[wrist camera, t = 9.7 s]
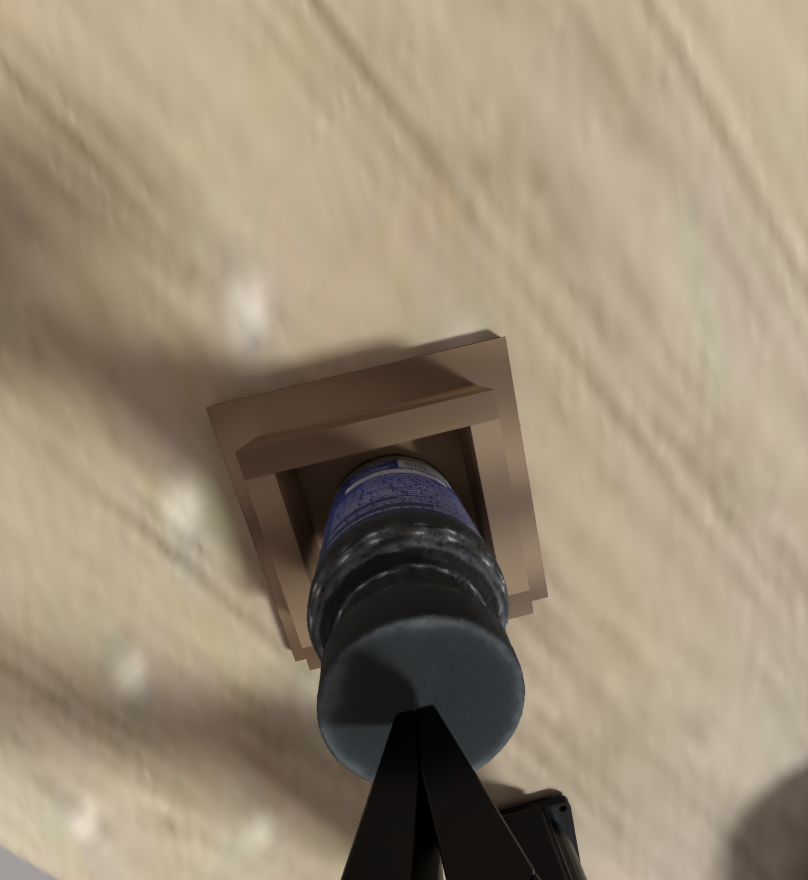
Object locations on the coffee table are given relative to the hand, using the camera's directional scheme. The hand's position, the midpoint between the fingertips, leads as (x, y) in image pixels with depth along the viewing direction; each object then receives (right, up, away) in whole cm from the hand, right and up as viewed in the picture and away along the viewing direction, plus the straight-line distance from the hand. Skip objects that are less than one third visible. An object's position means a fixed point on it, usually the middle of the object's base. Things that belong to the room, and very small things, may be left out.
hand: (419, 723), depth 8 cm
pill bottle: (-1, +3, +11) cm, 12 cm away
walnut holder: (-1, +3, +12) cm, 12 cm away
